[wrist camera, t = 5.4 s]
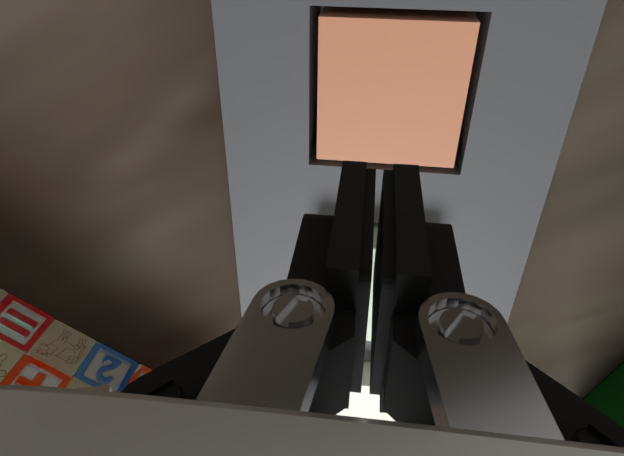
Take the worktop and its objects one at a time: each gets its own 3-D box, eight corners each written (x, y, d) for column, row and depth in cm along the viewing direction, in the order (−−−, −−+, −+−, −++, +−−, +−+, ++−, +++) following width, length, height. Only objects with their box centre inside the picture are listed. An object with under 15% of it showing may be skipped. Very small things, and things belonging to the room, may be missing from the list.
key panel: (455, 405, 32) (462, 466, 29) (267, 383, 33) (253, 439, 30) (584, -80, 17) (629, -70, 14) (237, -85, 18) (203, -78, 15)
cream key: (404, 405, 29) (405, 453, 26) (317, 394, 29) (309, 441, 27) (414, 343, 26) (417, 391, 24) (318, 333, 27) (310, 379, 24)
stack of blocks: (256, 421, 36) (203, 633, 26) (215, 457, 39) (153, 657, 29) (-39, 265, 31) (-249, 451, 21) (-58, 321, 34) (-247, 504, 24)
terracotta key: (446, 134, 21) (453, 168, 18) (325, 127, 21) (316, 158, 19) (468, 3, 18) (480, 22, 16) (328, -2, 19) (318, 16, 16)
